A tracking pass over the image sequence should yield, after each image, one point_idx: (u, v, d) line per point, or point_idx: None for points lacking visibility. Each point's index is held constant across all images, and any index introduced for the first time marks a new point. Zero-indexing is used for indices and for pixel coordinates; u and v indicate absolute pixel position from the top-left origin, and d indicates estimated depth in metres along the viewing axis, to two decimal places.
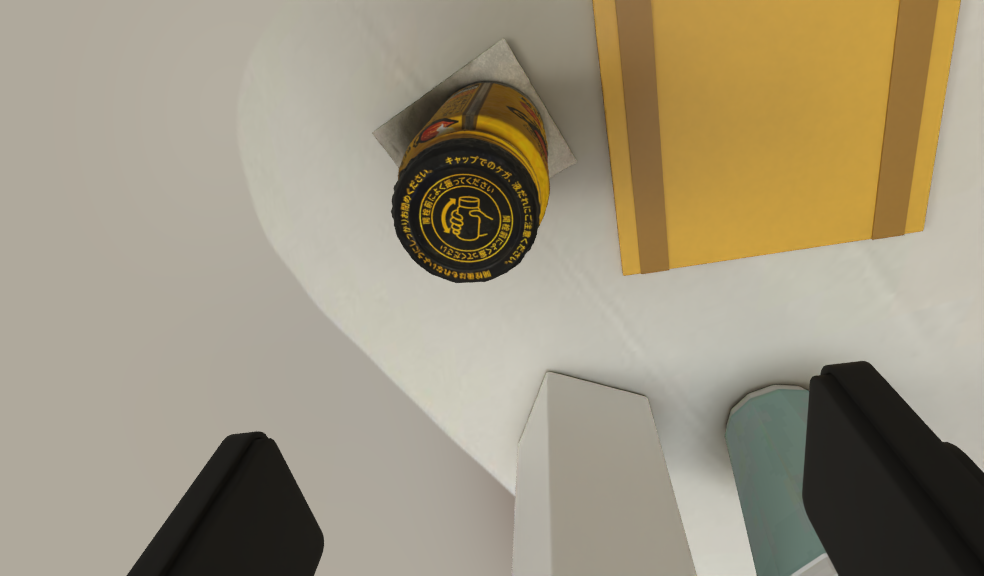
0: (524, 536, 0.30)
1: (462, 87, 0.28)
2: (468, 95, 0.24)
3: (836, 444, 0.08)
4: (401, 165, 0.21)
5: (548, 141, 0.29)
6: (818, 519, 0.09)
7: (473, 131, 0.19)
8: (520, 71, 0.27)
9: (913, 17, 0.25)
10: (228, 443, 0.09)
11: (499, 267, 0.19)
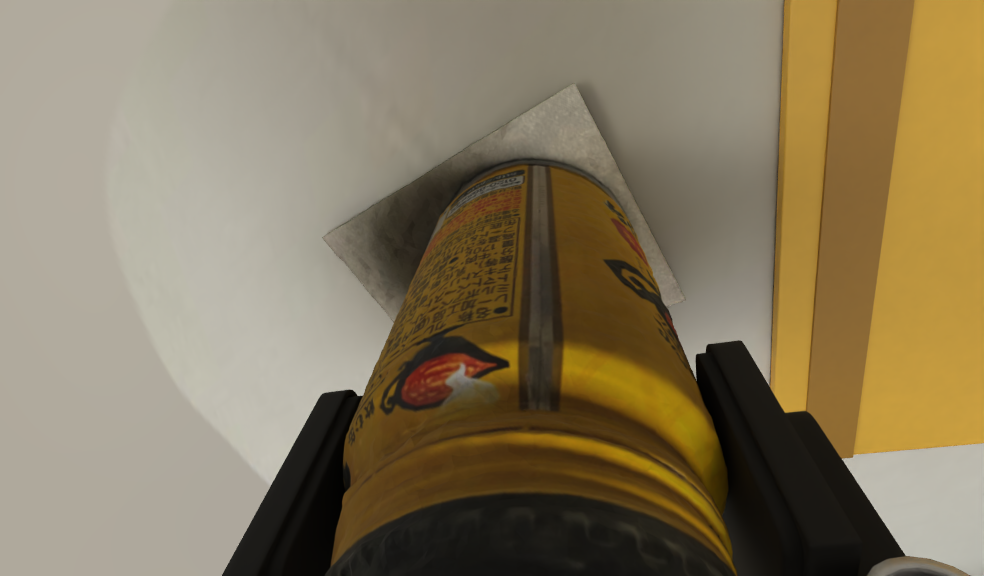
0: None
1: (488, 168, 0.15)
2: (511, 216, 0.11)
3: (711, 413, 0.09)
4: (350, 439, 0.08)
5: None
6: None
7: (562, 434, 0.06)
8: (601, 145, 0.14)
9: None
10: (325, 399, 0.10)
11: None
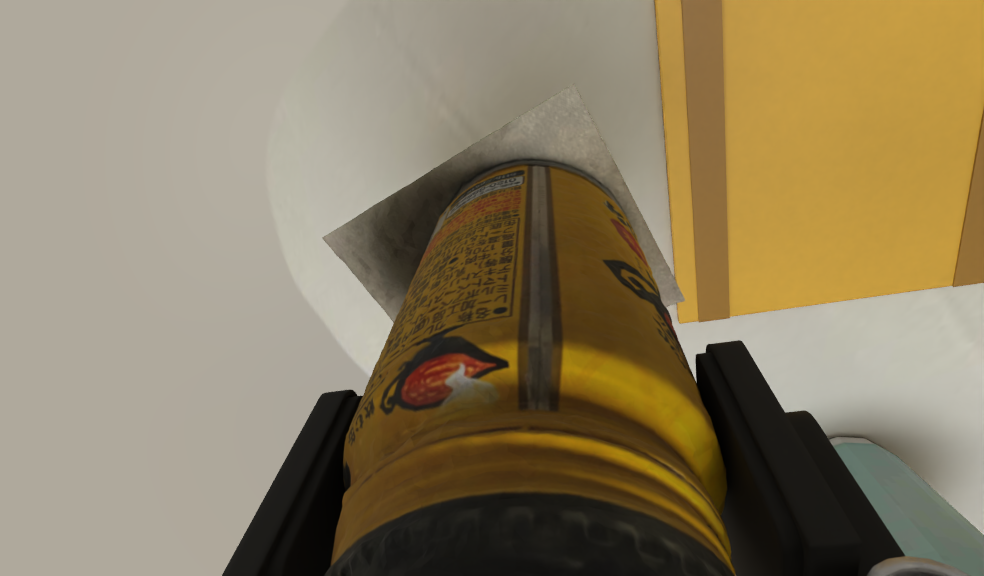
0: None
1: (488, 168, 0.15)
2: (511, 216, 0.11)
3: (710, 413, 0.09)
4: (350, 439, 0.08)
5: None
6: None
7: (562, 434, 0.06)
8: (600, 145, 0.14)
9: None
10: (325, 399, 0.10)
11: None
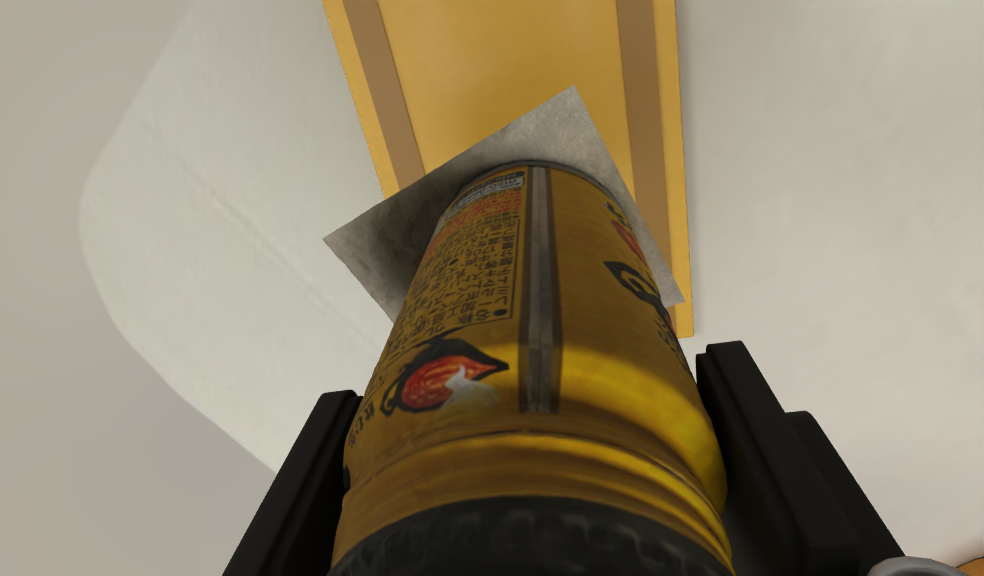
0: None
1: (488, 169, 0.15)
2: (511, 218, 0.11)
3: (711, 413, 0.09)
4: (350, 441, 0.08)
5: None
6: None
7: (562, 436, 0.06)
8: (600, 146, 0.14)
9: (645, 165, 0.28)
10: (325, 399, 0.10)
11: None
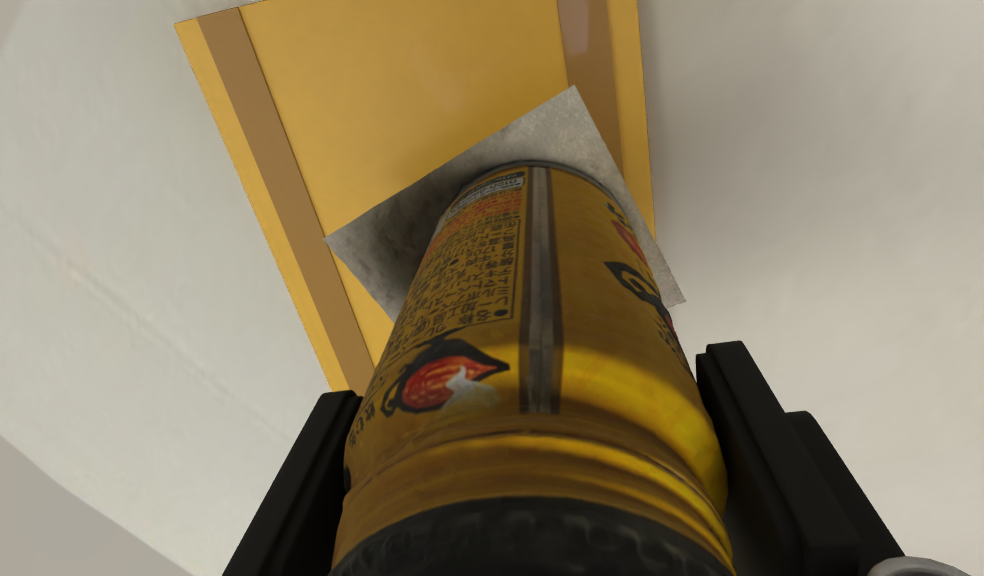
0: None
1: (489, 169, 0.15)
2: (512, 218, 0.11)
3: (710, 413, 0.09)
4: (351, 441, 0.08)
5: None
6: None
7: (563, 437, 0.06)
8: (600, 146, 0.14)
9: None
10: (325, 399, 0.10)
11: None
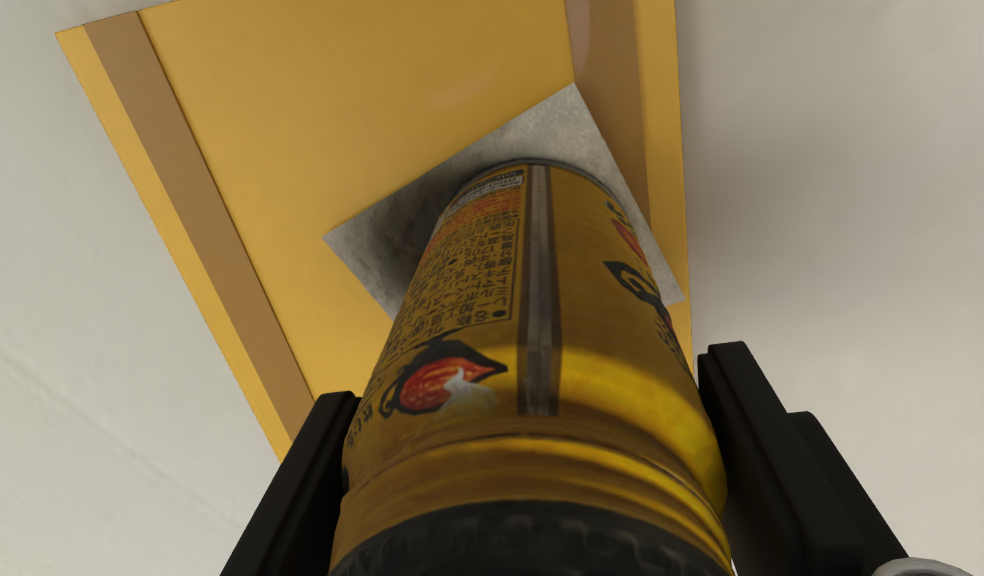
0: None
1: (488, 167, 0.15)
2: (511, 217, 0.11)
3: (712, 413, 0.09)
4: (349, 442, 0.08)
5: None
6: None
7: (561, 440, 0.06)
8: (601, 144, 0.14)
9: None
10: (324, 400, 0.10)
11: None
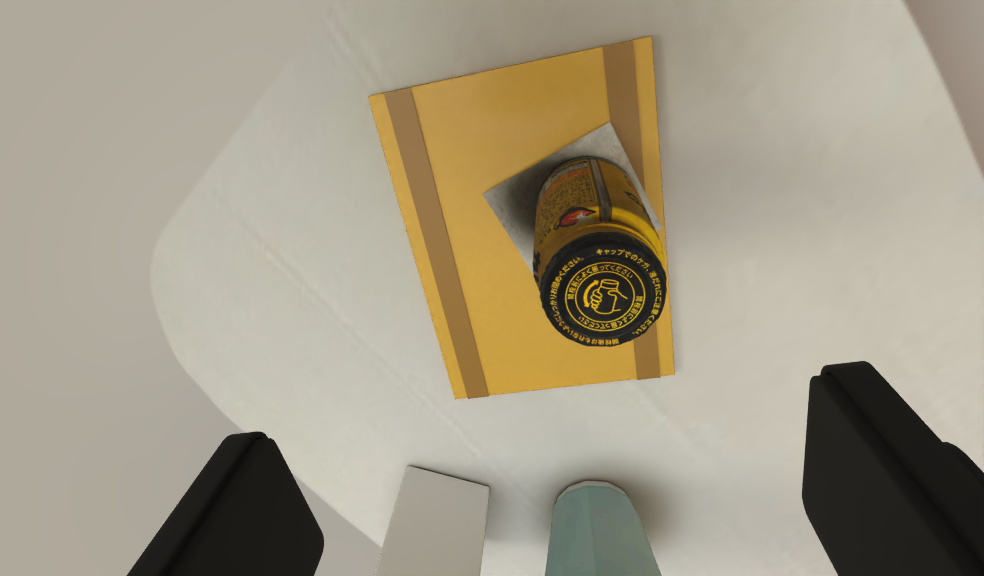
0: None
1: (567, 160, 0.32)
2: (586, 177, 0.28)
3: (836, 444, 0.08)
4: (540, 242, 0.25)
5: None
6: (818, 519, 0.09)
7: (613, 224, 0.23)
8: (621, 150, 0.31)
9: None
10: (228, 443, 0.09)
11: (626, 336, 0.23)
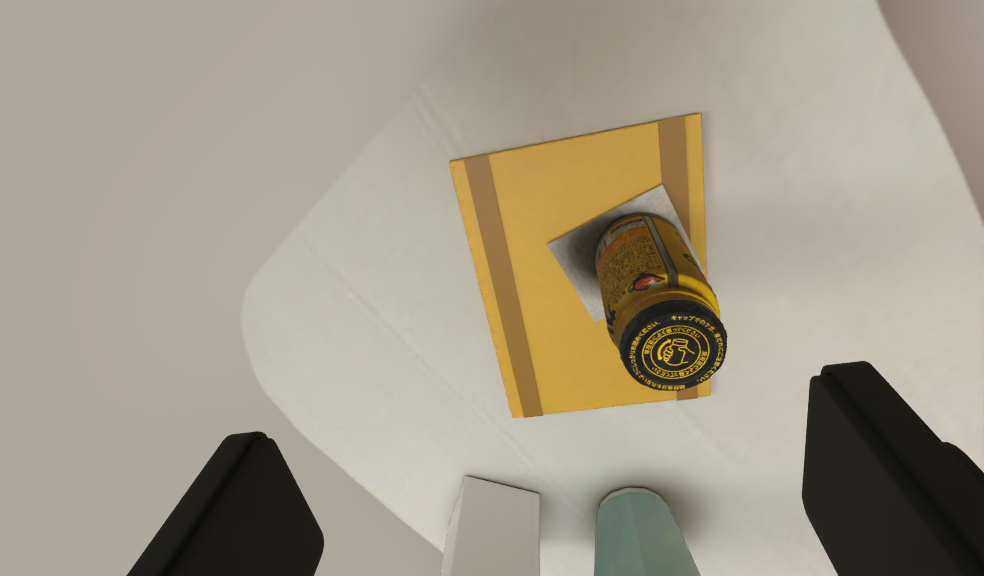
0: None
1: (623, 216, 0.36)
2: (647, 238, 0.32)
3: (836, 444, 0.08)
4: (615, 302, 0.29)
5: None
6: (818, 519, 0.09)
7: (682, 291, 0.27)
8: (671, 207, 0.35)
9: None
10: (228, 443, 0.09)
11: (692, 383, 0.28)
